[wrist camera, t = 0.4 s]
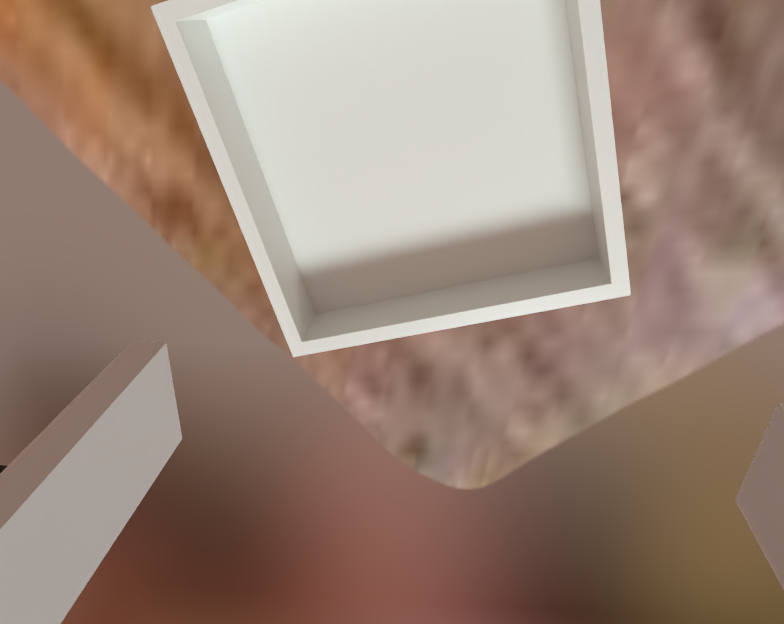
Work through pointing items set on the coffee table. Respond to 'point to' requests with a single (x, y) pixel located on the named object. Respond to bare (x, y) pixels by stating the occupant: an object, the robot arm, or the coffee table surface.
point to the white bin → (409, 157)
